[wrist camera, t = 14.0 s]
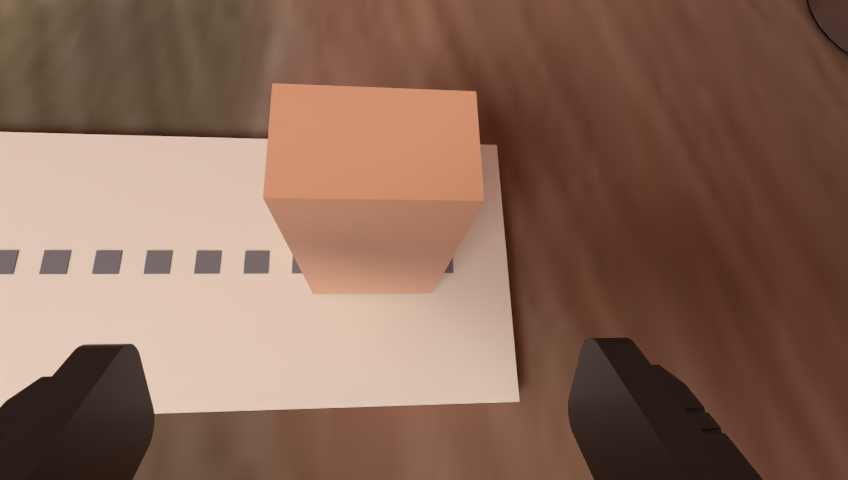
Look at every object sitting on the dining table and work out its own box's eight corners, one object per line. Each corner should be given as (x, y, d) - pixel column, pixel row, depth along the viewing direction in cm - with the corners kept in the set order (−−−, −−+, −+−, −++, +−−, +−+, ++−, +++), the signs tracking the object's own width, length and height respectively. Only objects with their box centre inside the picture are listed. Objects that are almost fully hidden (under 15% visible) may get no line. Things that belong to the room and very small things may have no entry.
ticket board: (-65, 143, 22) (-90, 128, 21) (491, 156, 25) (496, 144, 24) (-158, 423, 18) (-194, 424, 17) (511, 401, 21) (519, 401, 20)
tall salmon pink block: (316, 226, 21) (272, 83, 12) (430, 227, 22) (475, 91, 12) (313, 294, 20) (263, 197, 11) (432, 293, 21) (484, 200, 11)
